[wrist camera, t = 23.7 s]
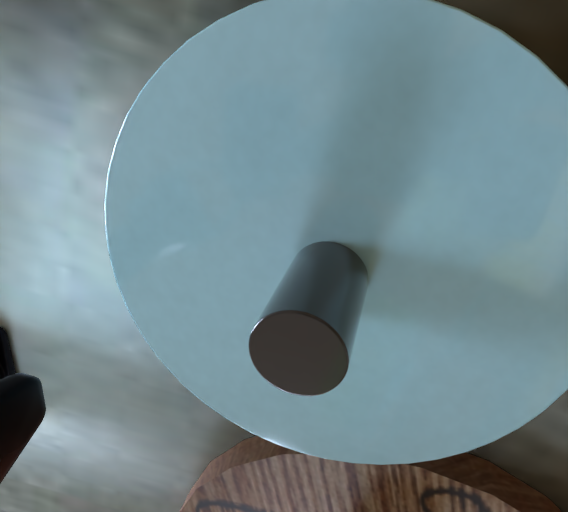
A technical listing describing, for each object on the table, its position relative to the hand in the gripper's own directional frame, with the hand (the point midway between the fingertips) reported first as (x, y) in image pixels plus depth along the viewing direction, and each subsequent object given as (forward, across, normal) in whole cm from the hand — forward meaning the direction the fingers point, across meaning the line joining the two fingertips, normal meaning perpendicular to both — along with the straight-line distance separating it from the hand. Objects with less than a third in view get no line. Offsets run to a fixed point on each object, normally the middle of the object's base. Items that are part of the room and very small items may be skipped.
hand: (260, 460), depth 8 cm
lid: (+8, 0, 0) cm, 8 cm away
